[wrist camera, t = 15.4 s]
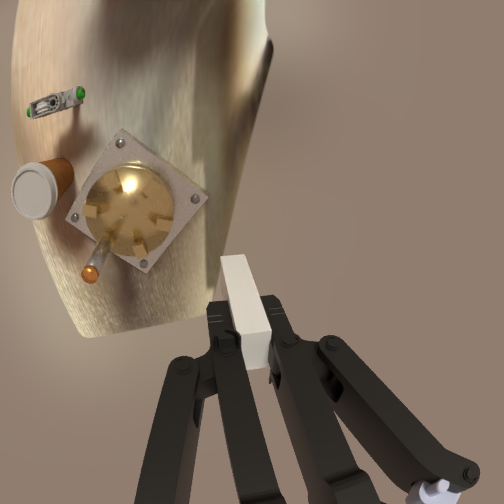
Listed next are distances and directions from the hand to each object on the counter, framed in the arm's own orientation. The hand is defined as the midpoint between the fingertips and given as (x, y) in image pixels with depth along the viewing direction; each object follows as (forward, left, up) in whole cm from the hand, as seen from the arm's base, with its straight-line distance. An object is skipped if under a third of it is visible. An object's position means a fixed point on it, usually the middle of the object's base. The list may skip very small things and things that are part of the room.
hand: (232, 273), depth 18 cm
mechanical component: (+5, -27, -35) cm, 44 cm away
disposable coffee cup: (+18, -22, -35) cm, 45 cm away
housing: (+14, -6, -34) cm, 38 cm away
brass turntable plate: (+14, -6, -32) cm, 35 cm away
